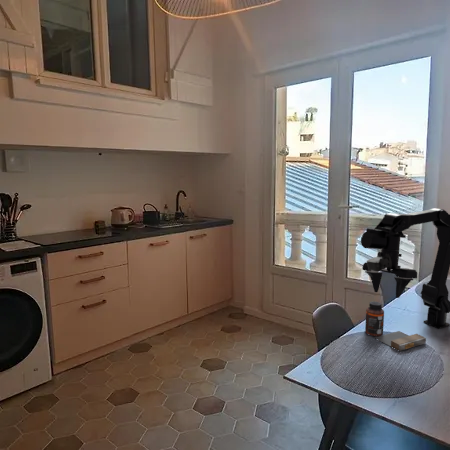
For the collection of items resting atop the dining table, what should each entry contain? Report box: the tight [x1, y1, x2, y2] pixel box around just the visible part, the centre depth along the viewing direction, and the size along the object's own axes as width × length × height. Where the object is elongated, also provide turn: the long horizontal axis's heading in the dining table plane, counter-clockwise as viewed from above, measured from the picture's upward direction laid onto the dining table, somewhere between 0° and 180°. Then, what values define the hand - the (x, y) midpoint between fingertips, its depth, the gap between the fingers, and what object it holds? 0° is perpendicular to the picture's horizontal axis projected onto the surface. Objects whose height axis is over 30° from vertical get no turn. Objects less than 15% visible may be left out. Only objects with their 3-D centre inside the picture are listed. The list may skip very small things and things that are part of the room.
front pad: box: [374, 330, 410, 347], centre depth 130 cm, size 12×7×1 cm, turn 115°
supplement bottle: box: [364, 300, 385, 337], centre depth 133 cm, size 6×6×11 cm
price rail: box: [390, 333, 427, 352], centre depth 125 cm, size 12×4×2 cm, turn 115°
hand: (386, 294), depth 130 cm, fingers open, 9 cm apart
